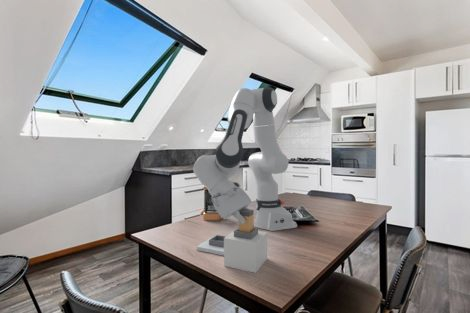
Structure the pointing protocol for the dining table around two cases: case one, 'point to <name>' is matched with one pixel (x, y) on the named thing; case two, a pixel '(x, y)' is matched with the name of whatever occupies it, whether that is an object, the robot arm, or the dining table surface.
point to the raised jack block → (245, 250)
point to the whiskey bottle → (210, 208)
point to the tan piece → (249, 224)
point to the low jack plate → (213, 245)
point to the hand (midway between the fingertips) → (248, 220)
